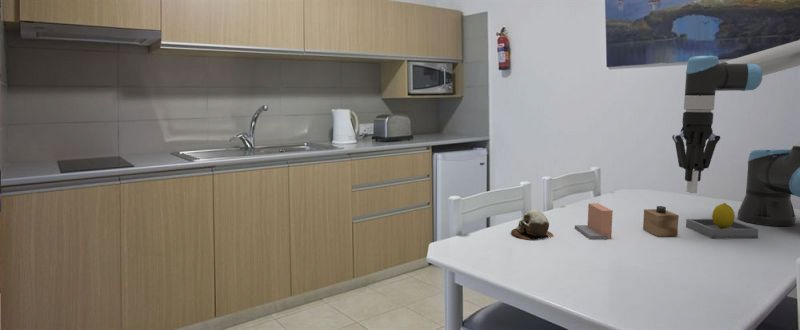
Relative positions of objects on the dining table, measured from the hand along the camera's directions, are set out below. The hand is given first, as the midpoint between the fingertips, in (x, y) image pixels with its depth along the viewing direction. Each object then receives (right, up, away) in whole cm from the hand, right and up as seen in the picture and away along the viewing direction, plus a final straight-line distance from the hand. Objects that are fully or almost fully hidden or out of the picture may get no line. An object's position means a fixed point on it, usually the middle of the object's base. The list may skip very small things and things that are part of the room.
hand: (691, 192), depth 148 cm
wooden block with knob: (-9, -12, +1) cm, 15 cm away
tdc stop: (-28, -12, +1) cm, 31 cm away
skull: (-46, -13, +1) cm, 48 cm away
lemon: (+10, -11, +1) cm, 15 cm away
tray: (+9, -12, +2) cm, 15 cm away
